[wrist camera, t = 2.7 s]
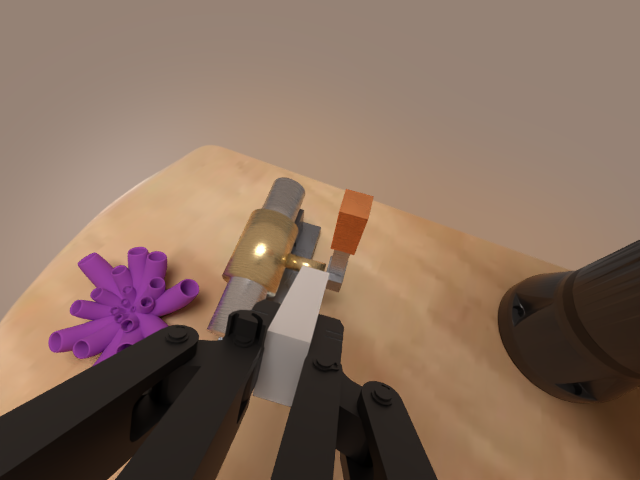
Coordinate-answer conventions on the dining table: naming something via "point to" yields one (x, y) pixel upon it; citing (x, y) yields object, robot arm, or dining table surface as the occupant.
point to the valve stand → (268, 254)
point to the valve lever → (347, 234)
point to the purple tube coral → (122, 304)
